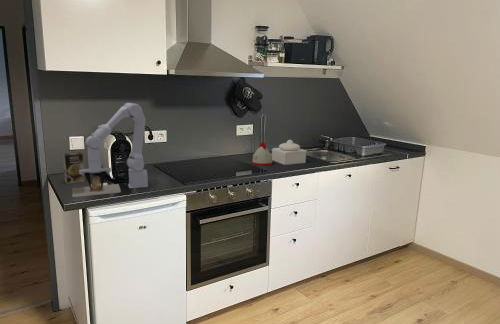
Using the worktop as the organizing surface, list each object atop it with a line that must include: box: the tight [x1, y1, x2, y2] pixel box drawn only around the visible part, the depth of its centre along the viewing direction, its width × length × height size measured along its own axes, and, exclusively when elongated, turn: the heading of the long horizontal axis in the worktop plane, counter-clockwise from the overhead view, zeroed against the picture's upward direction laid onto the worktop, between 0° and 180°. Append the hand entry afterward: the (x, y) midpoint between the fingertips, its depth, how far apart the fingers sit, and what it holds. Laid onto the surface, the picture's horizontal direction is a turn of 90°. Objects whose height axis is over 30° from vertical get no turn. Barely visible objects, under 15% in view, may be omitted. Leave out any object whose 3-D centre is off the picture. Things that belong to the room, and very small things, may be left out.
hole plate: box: [72, 183, 122, 198], centre depth 194 cm, size 22×11×2 cm, turn 114°
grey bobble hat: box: [251, 141, 273, 167], centre depth 265 cm, size 14×14×15 cm
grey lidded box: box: [271, 139, 308, 166], centre depth 273 cm, size 18×18×16 cm
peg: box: [90, 175, 101, 190], centre depth 193 cm, size 4×4×8 cm
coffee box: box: [62, 152, 86, 185], centre depth 210 cm, size 9×6×16 cm
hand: (96, 186), depth 194 cm, fingers open, 5 cm apart
